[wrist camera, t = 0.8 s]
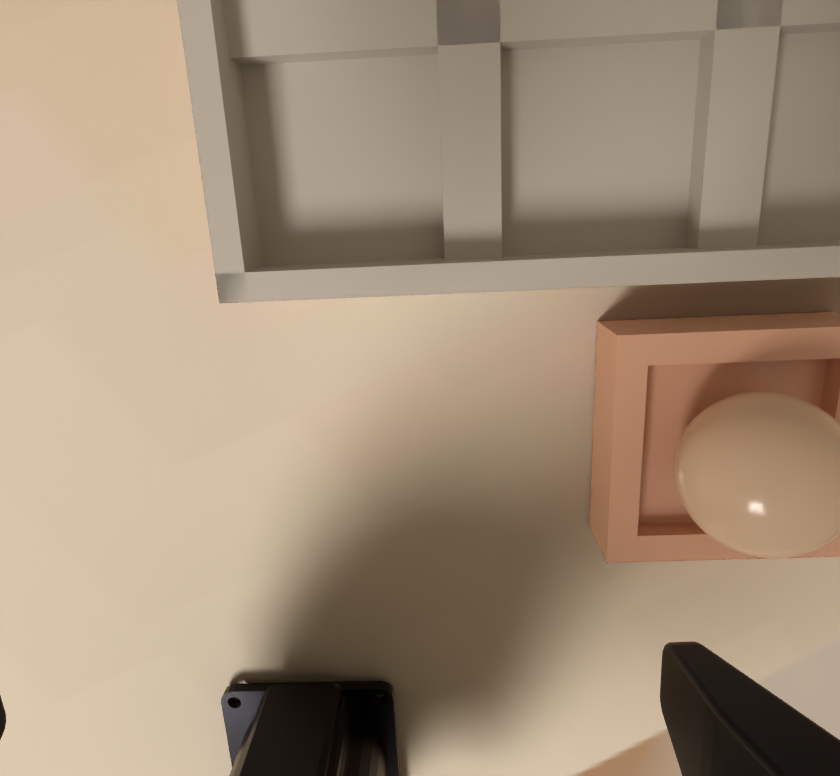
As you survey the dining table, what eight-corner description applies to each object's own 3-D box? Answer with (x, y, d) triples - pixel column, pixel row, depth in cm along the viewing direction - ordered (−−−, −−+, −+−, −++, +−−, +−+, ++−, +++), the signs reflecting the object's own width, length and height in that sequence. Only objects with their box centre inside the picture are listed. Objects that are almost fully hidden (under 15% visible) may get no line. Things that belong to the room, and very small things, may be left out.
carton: (939, 261, 18) (1015, 269, 16) (246, 291, 19) (219, 303, 17) (1056, -347, 14) (1182, -459, 12) (174, -277, 15) (125, -370, 13)
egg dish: (801, 520, 21) (843, 556, 19) (589, 526, 21) (606, 562, 19) (833, 311, 19) (883, 325, 17) (597, 321, 19) (617, 335, 17)
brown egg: (789, 505, 19) (890, 591, 15) (647, 510, 19) (706, 595, 15) (809, 369, 18) (925, 420, 14) (656, 375, 18) (723, 427, 14)
